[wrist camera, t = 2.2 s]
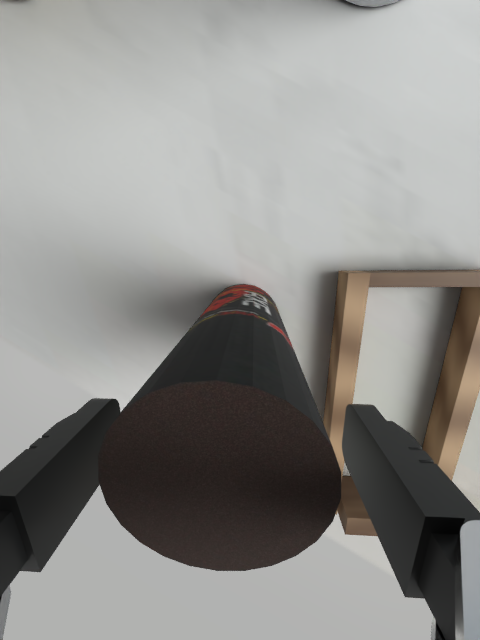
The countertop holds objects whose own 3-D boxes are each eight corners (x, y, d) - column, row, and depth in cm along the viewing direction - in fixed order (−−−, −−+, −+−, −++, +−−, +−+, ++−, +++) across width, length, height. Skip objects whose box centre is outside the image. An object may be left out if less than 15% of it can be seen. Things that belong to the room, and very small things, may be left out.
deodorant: (209, 350, 21) (112, 561, 7) (208, 283, 19) (78, 372, 5) (276, 353, 21) (325, 580, 6) (281, 285, 19) (361, 387, 5)
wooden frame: (338, 270, 19) (360, 275, 15) (487, 269, 18) (550, 274, 14) (315, 493, 25) (327, 537, 21) (425, 498, 24) (457, 544, 21)
